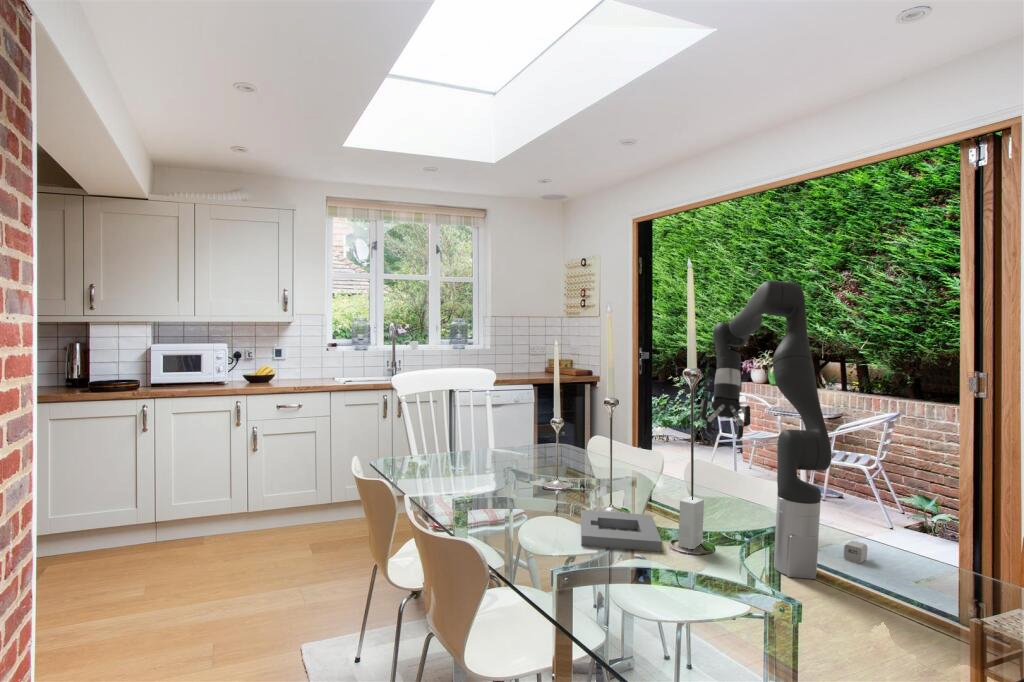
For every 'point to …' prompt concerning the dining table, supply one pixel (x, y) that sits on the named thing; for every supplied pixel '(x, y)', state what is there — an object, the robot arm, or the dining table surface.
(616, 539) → the block
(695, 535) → the skincare box
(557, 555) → the dining table surface
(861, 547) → the usb wall charger
